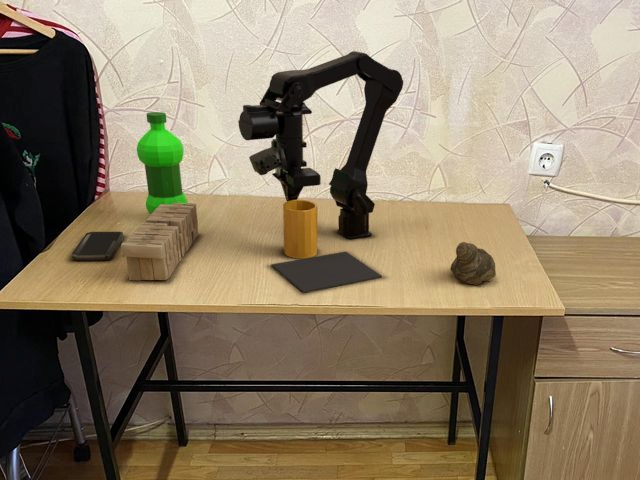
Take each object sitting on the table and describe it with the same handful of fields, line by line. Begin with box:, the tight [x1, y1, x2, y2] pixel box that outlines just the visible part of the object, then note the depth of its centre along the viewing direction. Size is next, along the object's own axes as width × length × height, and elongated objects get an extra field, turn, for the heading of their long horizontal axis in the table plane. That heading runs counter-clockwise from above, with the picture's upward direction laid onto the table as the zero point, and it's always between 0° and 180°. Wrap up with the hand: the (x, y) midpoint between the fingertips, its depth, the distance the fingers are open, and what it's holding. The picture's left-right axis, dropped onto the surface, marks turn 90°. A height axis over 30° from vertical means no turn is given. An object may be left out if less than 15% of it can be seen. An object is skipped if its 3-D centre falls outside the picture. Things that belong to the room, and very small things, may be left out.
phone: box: [71, 231, 125, 262], centre depth 156 cm, size 8×1×15 cm
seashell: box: [450, 241, 497, 286], centre depth 152 cm, size 11×12×10 cm
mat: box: [271, 251, 383, 294], centre depth 152 cm, size 18×16×1 cm
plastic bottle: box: [136, 111, 189, 215], centre depth 171 cm, size 10×10×25 cm
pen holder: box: [282, 199, 318, 260], centre depth 159 cm, size 7×7×11 cm
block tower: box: [120, 202, 199, 281], centre depth 153 cm, size 8×8×29 cm
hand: (290, 207), depth 160 cm, fingers closed
